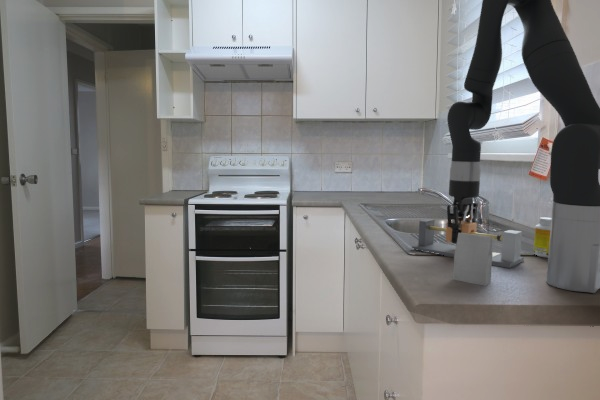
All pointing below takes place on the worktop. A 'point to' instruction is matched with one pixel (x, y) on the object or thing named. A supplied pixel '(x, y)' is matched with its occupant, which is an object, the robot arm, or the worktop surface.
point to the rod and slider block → (510, 237)
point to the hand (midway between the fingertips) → (460, 241)
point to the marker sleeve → (466, 228)
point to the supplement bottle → (542, 237)
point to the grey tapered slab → (473, 259)
